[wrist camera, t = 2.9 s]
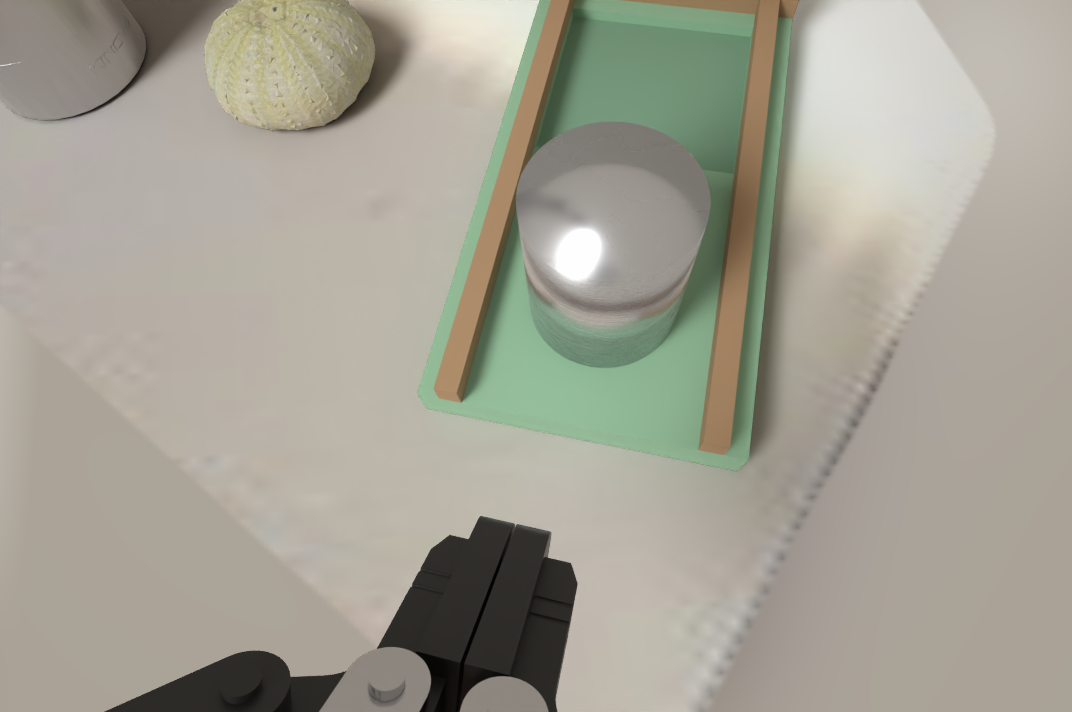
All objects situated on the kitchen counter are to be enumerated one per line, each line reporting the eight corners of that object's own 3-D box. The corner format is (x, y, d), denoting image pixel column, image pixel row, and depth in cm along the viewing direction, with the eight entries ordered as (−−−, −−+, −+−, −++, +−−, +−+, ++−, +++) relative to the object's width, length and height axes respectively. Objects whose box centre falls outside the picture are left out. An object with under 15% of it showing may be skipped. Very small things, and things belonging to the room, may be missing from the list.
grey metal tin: (515, 352, 28) (494, 263, 21) (547, 227, 30) (539, 110, 23) (665, 381, 27) (697, 297, 20) (686, 250, 29) (721, 135, 22)
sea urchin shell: (187, 28, 37) (234, -96, 32) (315, 78, 43) (372, -21, 38) (200, 143, 34) (256, 23, 29) (338, 182, 39) (404, 87, 34)
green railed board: (426, 408, 29) (402, 373, 25) (547, 10, 39) (544, -61, 35) (736, 471, 27) (765, 444, 23) (782, 36, 37) (808, -37, 33)
